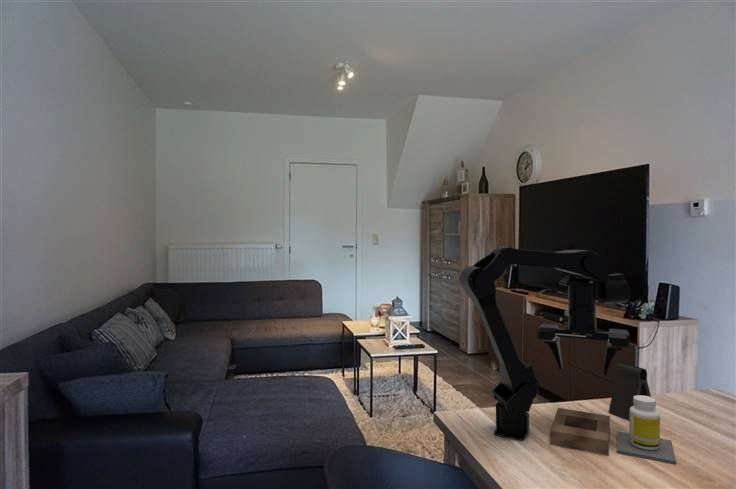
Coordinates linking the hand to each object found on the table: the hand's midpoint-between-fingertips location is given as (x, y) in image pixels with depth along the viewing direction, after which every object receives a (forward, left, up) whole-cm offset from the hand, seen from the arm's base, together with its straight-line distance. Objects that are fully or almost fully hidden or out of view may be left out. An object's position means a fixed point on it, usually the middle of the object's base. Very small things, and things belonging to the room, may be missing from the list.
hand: (582, 371), depth 104 cm
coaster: (+12, -5, -13) cm, 18 cm away
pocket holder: (0, -5, -13) cm, 14 cm away
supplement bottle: (+12, -5, -13) cm, 18 cm away
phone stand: (+10, +14, -13) cm, 22 cm away
